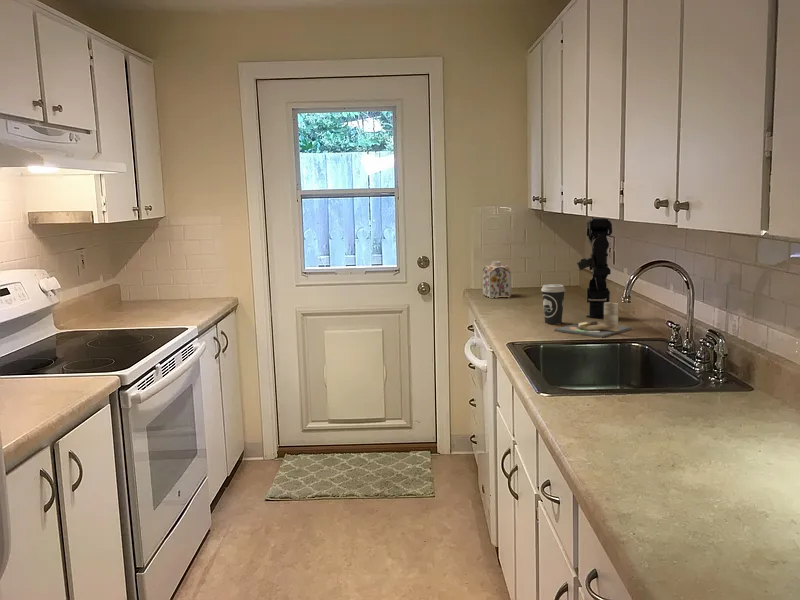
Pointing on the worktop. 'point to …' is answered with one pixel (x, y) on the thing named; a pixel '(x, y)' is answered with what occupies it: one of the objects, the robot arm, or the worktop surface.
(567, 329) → the board
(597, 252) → the robot arm
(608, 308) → the beige boot
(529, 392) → the worktop surface
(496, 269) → the decorative jar
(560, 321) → the coffee cup
